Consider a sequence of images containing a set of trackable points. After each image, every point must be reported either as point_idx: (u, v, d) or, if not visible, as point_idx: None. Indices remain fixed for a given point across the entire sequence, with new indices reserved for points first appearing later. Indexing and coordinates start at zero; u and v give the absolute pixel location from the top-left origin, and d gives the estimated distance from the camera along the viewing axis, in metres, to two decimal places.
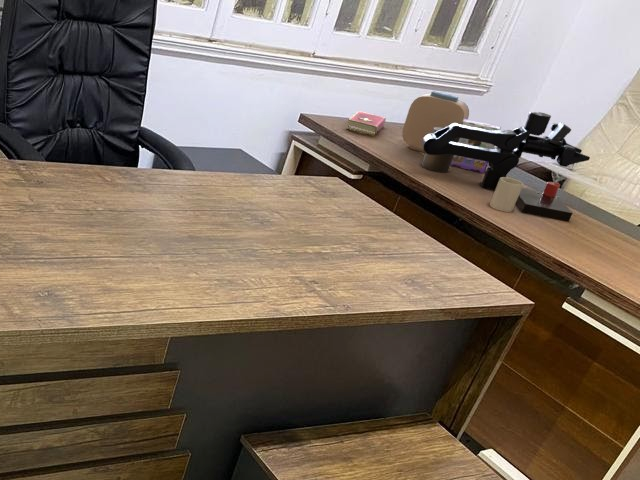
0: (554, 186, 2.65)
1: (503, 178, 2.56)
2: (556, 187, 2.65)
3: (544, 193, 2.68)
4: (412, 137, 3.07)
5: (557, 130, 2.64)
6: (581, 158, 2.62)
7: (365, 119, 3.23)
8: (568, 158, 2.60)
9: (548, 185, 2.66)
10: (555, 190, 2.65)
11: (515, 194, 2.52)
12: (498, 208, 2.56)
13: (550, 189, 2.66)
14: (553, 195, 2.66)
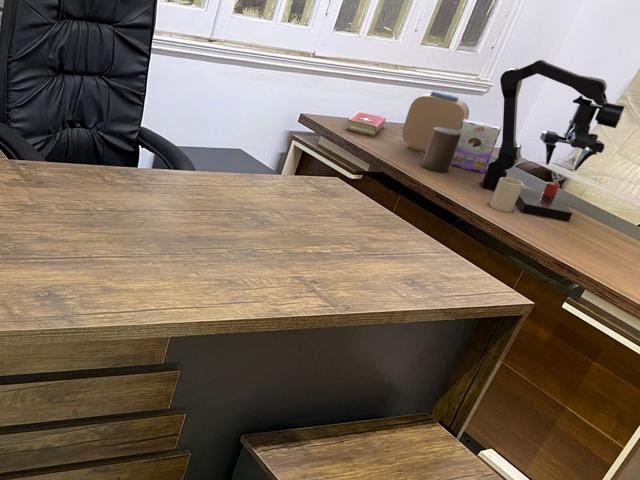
0: (554, 186, 2.65)
1: (503, 178, 2.56)
2: (556, 187, 2.65)
3: (544, 193, 2.68)
4: (412, 137, 3.07)
5: (579, 135, 2.52)
6: (547, 155, 2.62)
7: (365, 119, 3.23)
8: (542, 137, 2.60)
9: (548, 185, 2.66)
10: (555, 190, 2.65)
11: (515, 194, 2.52)
12: (498, 208, 2.56)
13: (550, 189, 2.66)
14: (553, 195, 2.66)
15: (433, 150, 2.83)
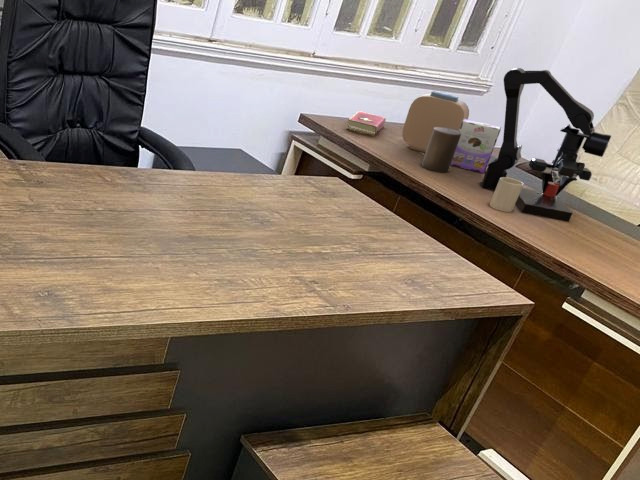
0: (554, 186, 2.65)
1: (503, 178, 2.56)
2: (556, 187, 2.65)
3: (544, 193, 2.68)
4: (412, 137, 3.07)
5: (567, 163, 2.56)
6: (543, 184, 2.67)
7: (365, 119, 3.23)
8: (530, 165, 2.65)
9: (548, 185, 2.66)
10: (555, 190, 2.65)
11: (515, 194, 2.52)
12: (498, 208, 2.56)
13: (550, 189, 2.66)
14: (553, 195, 2.66)
15: (433, 150, 2.83)
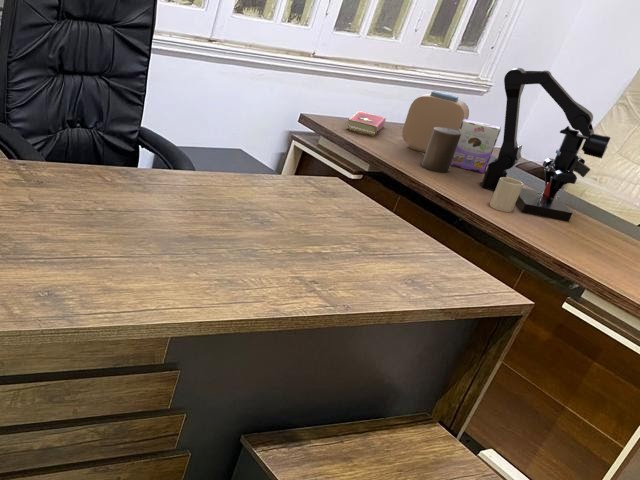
0: None
1: (503, 178, 2.56)
2: None
3: None
4: (412, 137, 3.07)
5: (583, 164, 2.61)
6: (554, 190, 2.64)
7: (365, 119, 3.23)
8: (565, 180, 2.56)
9: None
10: None
11: (515, 194, 2.52)
12: (498, 208, 2.56)
13: None
14: None
15: (433, 150, 2.83)
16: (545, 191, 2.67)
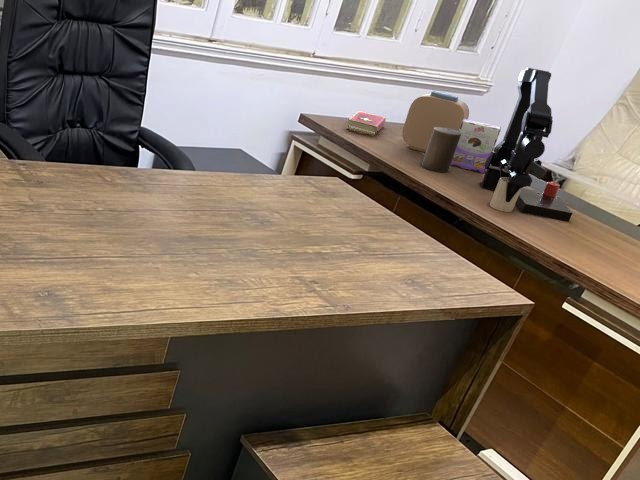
0: None
1: (503, 178, 2.56)
2: None
3: (553, 195, 2.66)
4: (412, 137, 3.07)
5: (540, 166, 2.49)
6: (510, 194, 2.51)
7: (365, 119, 3.23)
8: (520, 182, 2.45)
9: (557, 187, 2.65)
10: None
11: (515, 194, 2.52)
12: (498, 208, 2.56)
13: (557, 190, 2.66)
14: None
15: (433, 150, 2.83)
16: (545, 191, 2.67)
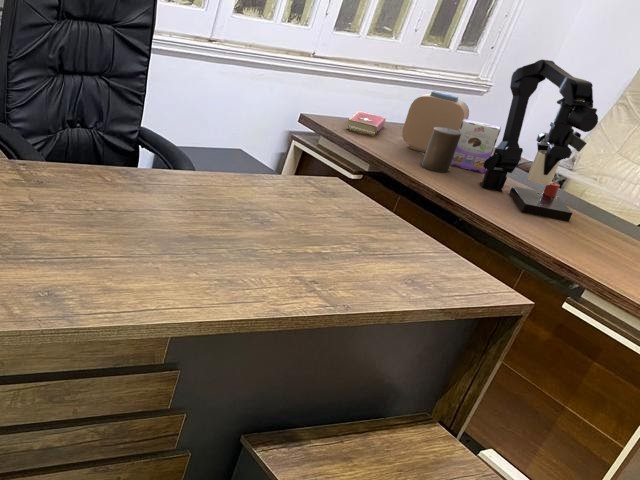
0: None
1: (541, 151, 2.53)
2: None
3: (553, 195, 2.66)
4: (412, 137, 3.07)
5: (579, 138, 2.46)
6: (549, 167, 2.48)
7: (365, 119, 3.23)
8: (559, 154, 2.42)
9: (557, 187, 2.65)
10: None
11: (553, 167, 2.49)
12: (536, 181, 2.53)
13: (557, 190, 2.66)
14: None
15: (433, 150, 2.83)
16: (545, 191, 2.67)
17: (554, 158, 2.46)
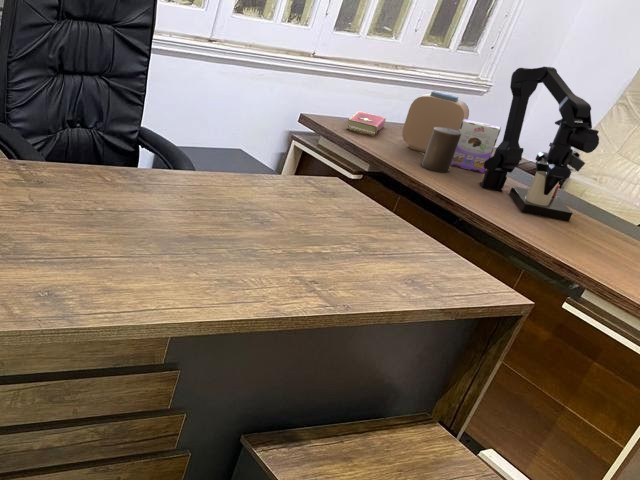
0: None
1: (539, 172, 2.57)
2: None
3: (553, 195, 2.66)
4: (412, 137, 3.07)
5: (578, 158, 2.50)
6: (549, 187, 2.51)
7: (365, 119, 3.23)
8: (559, 174, 2.46)
9: (557, 187, 2.65)
10: None
11: None
12: (534, 202, 2.57)
13: (557, 190, 2.66)
14: None
15: (433, 150, 2.83)
16: None
17: (554, 179, 2.50)
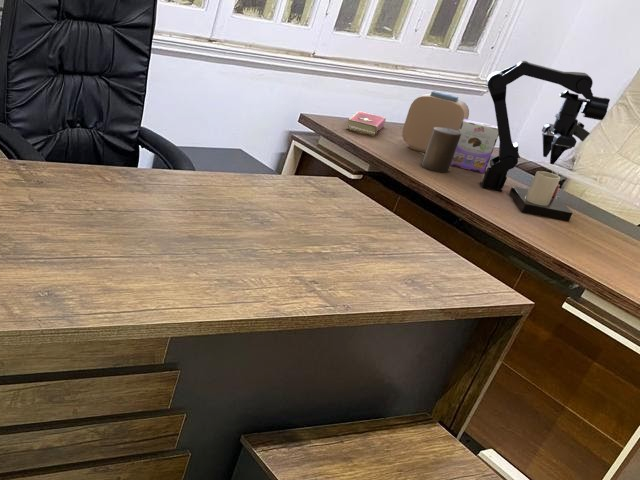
0: None
1: (539, 172, 2.57)
2: None
3: (553, 195, 2.66)
4: (412, 137, 3.07)
5: (583, 128, 2.60)
6: (555, 156, 2.62)
7: (365, 119, 3.23)
8: (565, 143, 2.56)
9: (557, 187, 2.65)
10: None
11: (552, 188, 2.54)
12: (534, 202, 2.57)
13: (557, 190, 2.66)
14: None
15: (433, 150, 2.83)
16: None
17: (560, 148, 2.60)
